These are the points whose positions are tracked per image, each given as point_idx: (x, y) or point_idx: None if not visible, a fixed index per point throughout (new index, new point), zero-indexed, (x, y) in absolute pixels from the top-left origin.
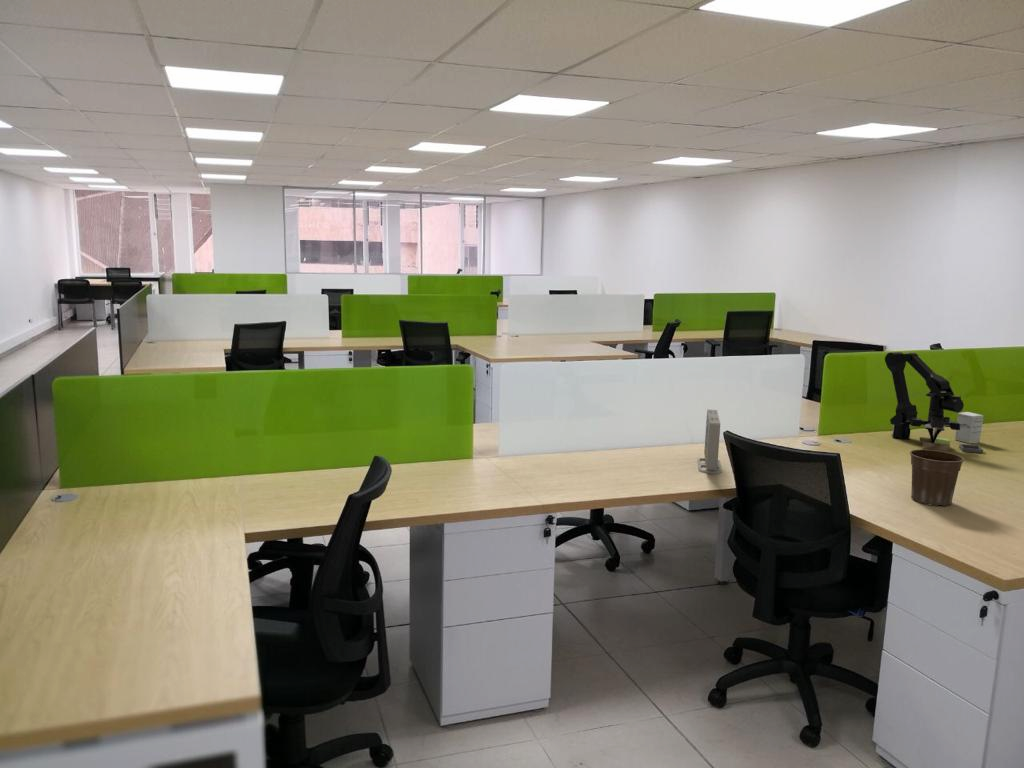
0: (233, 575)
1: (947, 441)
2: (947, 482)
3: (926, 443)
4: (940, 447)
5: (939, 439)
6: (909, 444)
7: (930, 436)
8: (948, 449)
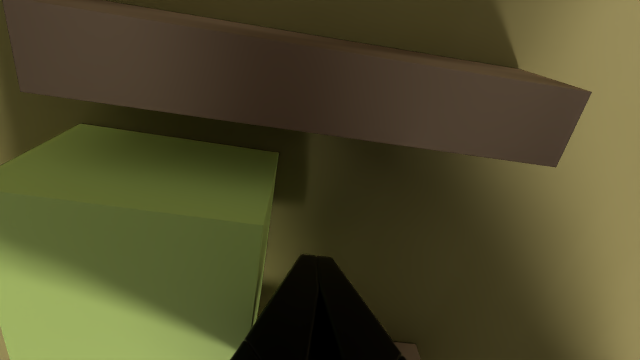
0: None
1: (29, 195)
2: None
3: (528, 80)
4: (235, 27)
5: (191, 312)
6: (587, 267)
7: (394, 345)
8: (86, 2)
